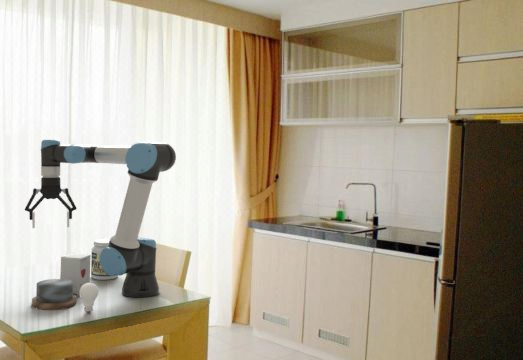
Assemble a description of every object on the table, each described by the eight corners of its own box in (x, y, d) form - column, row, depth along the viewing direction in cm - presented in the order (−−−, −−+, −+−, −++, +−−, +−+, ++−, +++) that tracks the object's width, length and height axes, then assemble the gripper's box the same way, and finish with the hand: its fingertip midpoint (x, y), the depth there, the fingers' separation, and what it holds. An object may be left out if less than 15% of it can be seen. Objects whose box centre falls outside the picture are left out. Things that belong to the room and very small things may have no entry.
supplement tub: (85, 278, 258) (86, 241, 257) (101, 273, 270) (101, 237, 269) (108, 281, 255) (109, 244, 253) (123, 276, 266) (124, 240, 265)
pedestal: (85, 301, 223) (85, 281, 222) (55, 312, 208) (55, 290, 208) (53, 295, 229) (54, 276, 229) (22, 305, 214) (22, 284, 214)
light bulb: (99, 310, 213) (100, 281, 212) (95, 315, 206) (95, 285, 206) (81, 309, 213) (82, 280, 212) (76, 315, 206) (77, 285, 205)
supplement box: (79, 294, 232) (80, 258, 231) (59, 292, 234) (60, 256, 233) (90, 289, 241) (91, 254, 240) (71, 287, 243) (71, 252, 242)
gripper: (82, 176, 246) (82, 225, 248) (19, 176, 239) (19, 226, 240) (82, 177, 239) (82, 227, 241) (17, 177, 231) (18, 229, 233)
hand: (51, 227), depth 240 cm, fingers open, 13 cm apart
